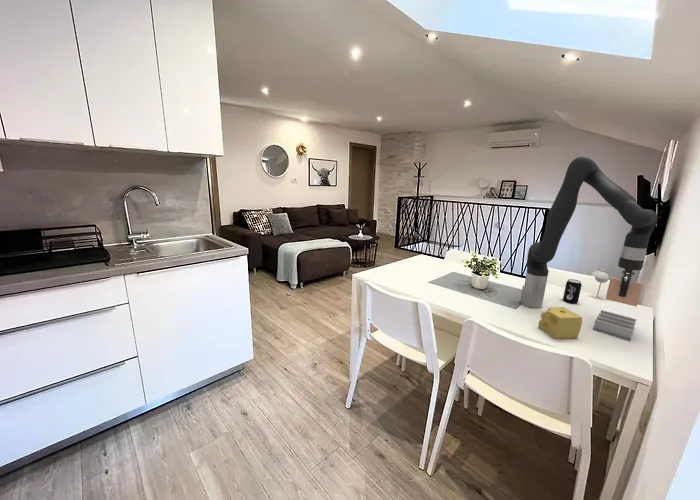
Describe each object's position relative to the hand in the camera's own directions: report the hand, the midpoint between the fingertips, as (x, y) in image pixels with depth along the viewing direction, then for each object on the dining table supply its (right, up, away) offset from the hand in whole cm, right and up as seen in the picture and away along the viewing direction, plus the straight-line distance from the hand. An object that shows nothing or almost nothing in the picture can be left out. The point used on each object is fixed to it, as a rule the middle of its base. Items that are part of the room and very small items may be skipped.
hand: (622, 295), depth 124 cm
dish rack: (0, -15, +4) cm, 16 cm away
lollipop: (+21, -7, +37) cm, 43 cm away
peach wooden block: (0, -3, +1) cm, 3 cm away
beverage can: (+2, -9, +32) cm, 33 cm away
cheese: (-28, -16, 0) cm, 33 cm away
